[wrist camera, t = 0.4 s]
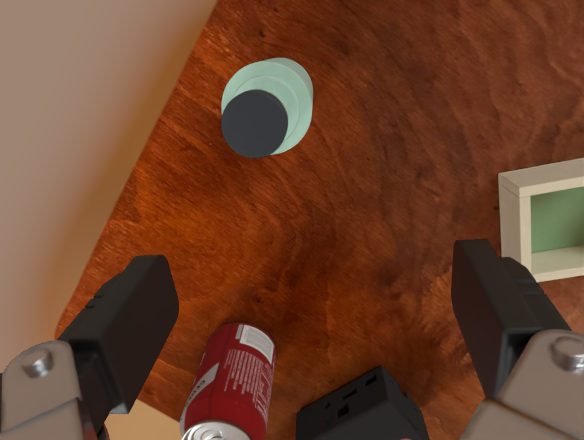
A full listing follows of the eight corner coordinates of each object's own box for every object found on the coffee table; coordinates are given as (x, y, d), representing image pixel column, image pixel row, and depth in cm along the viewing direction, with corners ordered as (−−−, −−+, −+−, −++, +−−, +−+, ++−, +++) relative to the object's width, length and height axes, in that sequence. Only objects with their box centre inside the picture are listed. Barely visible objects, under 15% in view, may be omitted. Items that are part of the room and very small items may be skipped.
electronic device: (296, 409, 46) (294, 450, 41) (381, 362, 43) (388, 400, 38) (337, 451, 48) (340, 495, 43) (421, 409, 45) (433, 451, 40)
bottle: (239, 65, 33) (182, 79, 19) (305, 50, 33) (298, 53, 18) (256, 132, 35) (214, 190, 21) (318, 119, 34) (320, 169, 20)
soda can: (247, 305, 41) (222, 401, 30) (290, 353, 43) (281, 459, 32) (195, 339, 43) (153, 440, 32) (238, 383, 45) (213, 493, 34)
